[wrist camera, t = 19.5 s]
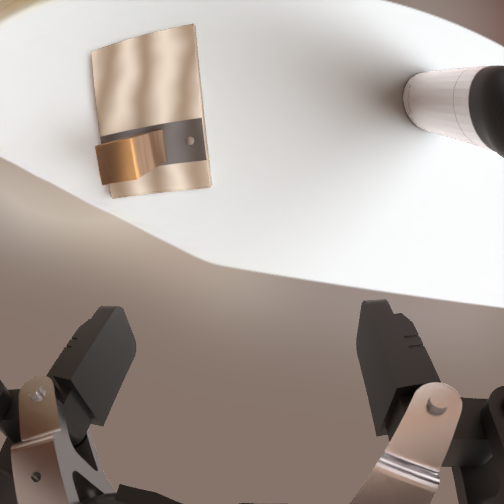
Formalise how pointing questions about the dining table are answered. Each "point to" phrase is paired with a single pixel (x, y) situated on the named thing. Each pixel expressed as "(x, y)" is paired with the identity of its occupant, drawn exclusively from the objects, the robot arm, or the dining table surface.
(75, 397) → the robot arm
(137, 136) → the walnut block
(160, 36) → the subfloor panel
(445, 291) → the dining table surface
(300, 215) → the dining table surface
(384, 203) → the dining table surface
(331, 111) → the dining table surface
